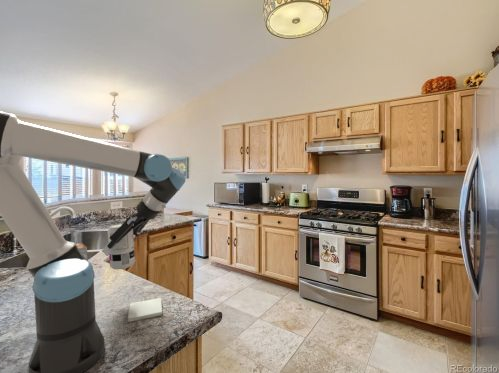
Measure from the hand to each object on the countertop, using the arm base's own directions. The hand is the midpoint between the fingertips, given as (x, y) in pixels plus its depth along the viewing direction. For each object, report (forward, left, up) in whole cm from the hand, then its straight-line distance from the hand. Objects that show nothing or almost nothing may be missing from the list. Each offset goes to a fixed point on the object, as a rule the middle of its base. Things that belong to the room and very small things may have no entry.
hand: (113, 249), depth 92 cm
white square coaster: (-14, -11, -18) cm, 26 cm away
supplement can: (-2, -3, -6) cm, 7 cm away
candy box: (+24, +16, -18) cm, 34 cm away
